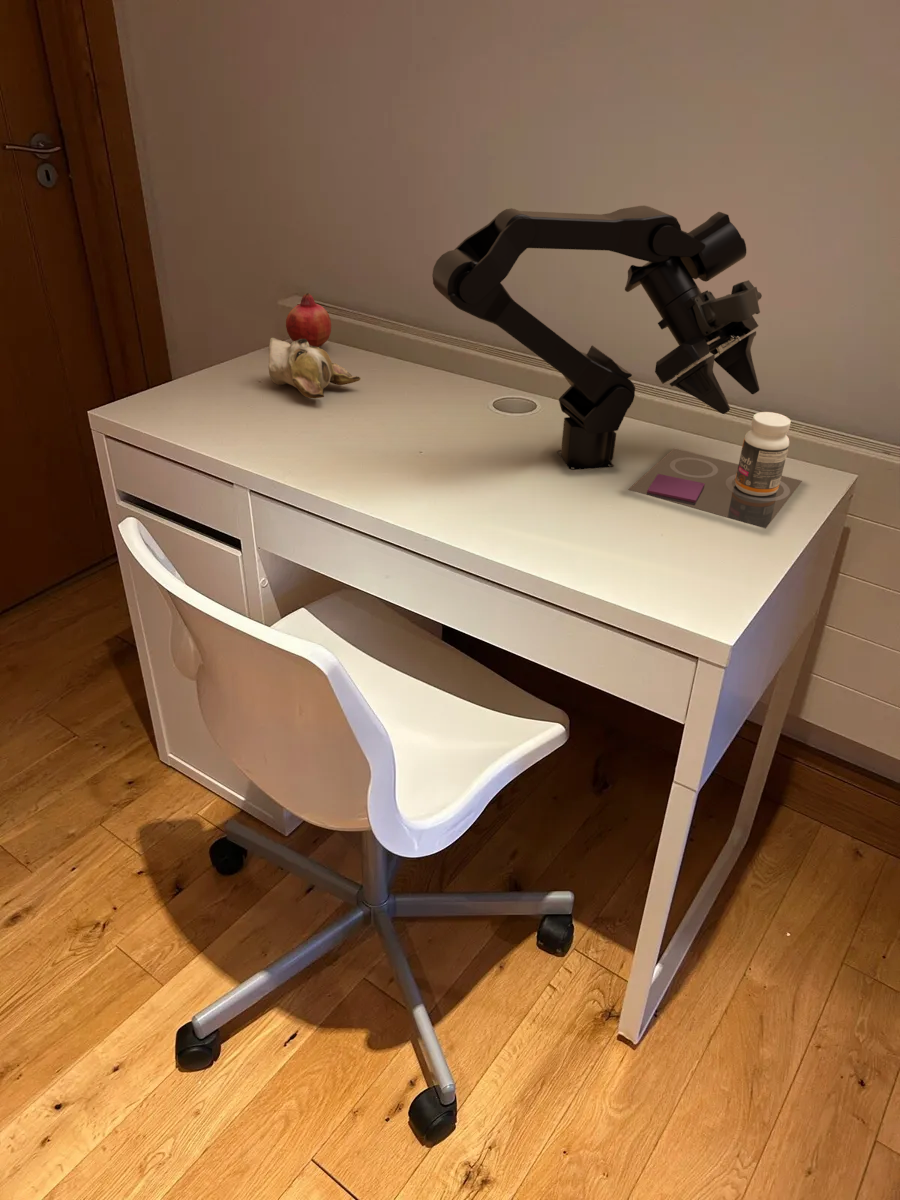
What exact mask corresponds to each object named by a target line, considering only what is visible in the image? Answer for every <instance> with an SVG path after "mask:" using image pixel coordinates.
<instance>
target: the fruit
mask: <svg viewBox="0 0 900 1200" xmlns="http://www.w3.org/2000/svg"><path fill="white" fill-rule="evenodd" d="M285 328H286V332H287V334H288V336H289V338H290V340H291V341H292V342H294V341H296V340H299V339H306V340H307V341H308V343H309V345H310V346H316V347H319V348H320V347H321V346H323V345H324V344H325V343H327V342H328V340H329V339H330V336H331V333H332V321H331V317H330V314H329V312H328V311H327V309H326V308H325V307H323V306H322V305H320V304H318V303H316V301H315V299H314V297H313V295H312V294H311V293H309V292H307V293H305V294H303V296H302V297H301V299H300V303H299V304H297V305H295V306H294V307H293V308H292V309H291V310H290V311H289V313H288V314H287V316H286V318H285Z"/></svg>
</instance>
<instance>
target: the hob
mask: <svg viewBox="0 0 900 1200" xmlns="http://www.w3.org/2000/svg"><path fill="white" fill-rule="evenodd" d="M738 464H739V463H734V462H731V461H726V460H722V459H718V458H715V457H711V456H707V455H703V454H700V453H695V452H691V451H687V450H684V449H679V448H675V447H674V448H673V449H671V451H670V452H668V453H667V454H666V455H665V456H664V457H662V458H661V459H660V460H659V461H658V462H657V463H656V464H655V465H654V466H653V467H651V469H649V470H648V471H647V472H646V473H645V474H644V475H642V476H641V477H640V478H639V479H638V480H637V481H636V482H635V483H634V484H633V485H632V486H630V487H629V488H628V491H631V492H635V493H637V494H642V495H645V496H649V497H652V498H656V499H658V500H663V501H667V502H671V503H674V504H677V505H681V506H684V507H689V508H691V509H694V510H698V511H702V512H706V513H708V514H712V515H715V516H719V517H723V518H727V519H730V520H734V521H738V522H741V523H744V524H747V525H751V526H755V527H758V528H762V529H767V528H768V527H769V525H770V524H771V523H772V521H774V519H775V517H777V515H778V513H780V511H781V510H782V508H783V507H784V506H785V504H786V503H787V502H788V500H789V499H790V498H791V497H792V496H793V494H794V493H795V492H796V490H797V489H798V488H799V487H800V485H801V484H802V483H803V480H800V479H797V478H792V477H789V476H785V475H782V476H781V480H780V484H779V487H778V490H777V491H776V492H775V493H774V494H772V495H769V496H754V495H750V494H746V493H744V492H742V491H740V490H739V489H738V488H737V487H736V485H735V478H736V473H737V469H738ZM658 474H661V475H666V476H671V477H676V478H681V479H686V480H690V481H695V482H700V483H705V485H704V488H703V489H702V491H701V493H700V495H699V497H698V499H697V501H696V502H695V503H693V502H688V501H684V500H679V499H674V498H670V497H665V496H660V495H656V494H651V493H647V490H648V488H649V487H650V485H651V484H652V482H653V481H654V479H655V478H656V476H657V475H658Z"/></svg>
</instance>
